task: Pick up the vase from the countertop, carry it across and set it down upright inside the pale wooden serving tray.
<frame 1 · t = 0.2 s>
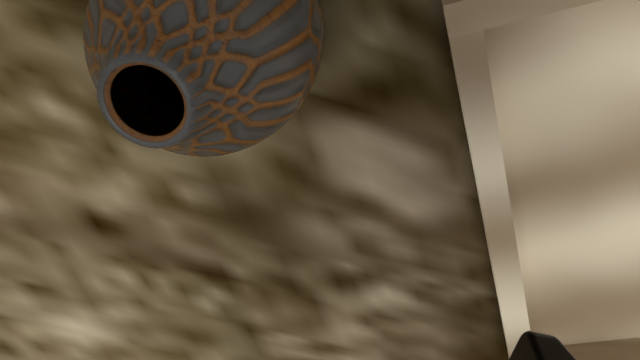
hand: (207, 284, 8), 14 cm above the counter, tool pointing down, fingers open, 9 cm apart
vase: (241, 7, 21), on the counter
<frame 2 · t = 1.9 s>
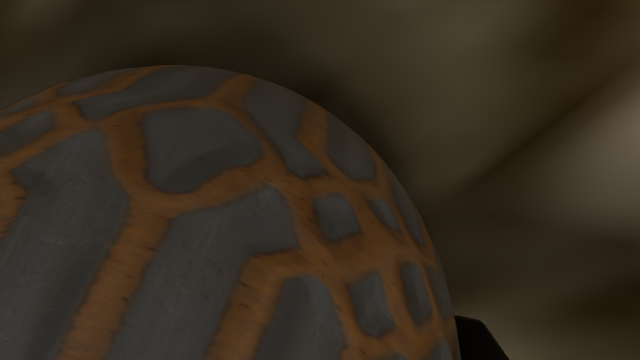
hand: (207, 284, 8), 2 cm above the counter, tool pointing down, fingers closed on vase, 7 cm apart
vase: (243, 199, 10), on the counter, touching gripper
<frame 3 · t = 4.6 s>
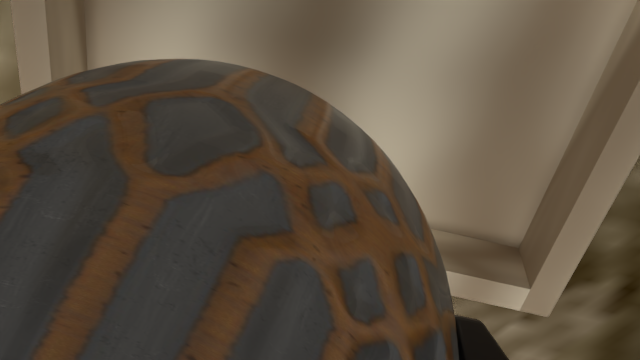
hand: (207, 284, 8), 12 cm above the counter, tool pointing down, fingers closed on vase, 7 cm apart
vase: (253, 196, 10), point 9 cm above the counter, touching gripper
tray: (344, 4, 17), on the counter
when the fingers open (4 cm above the counter, at t = 7.1 s): vase drops 1 cm, resting on tray.
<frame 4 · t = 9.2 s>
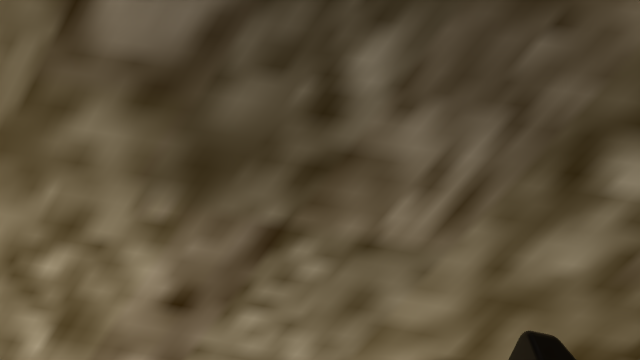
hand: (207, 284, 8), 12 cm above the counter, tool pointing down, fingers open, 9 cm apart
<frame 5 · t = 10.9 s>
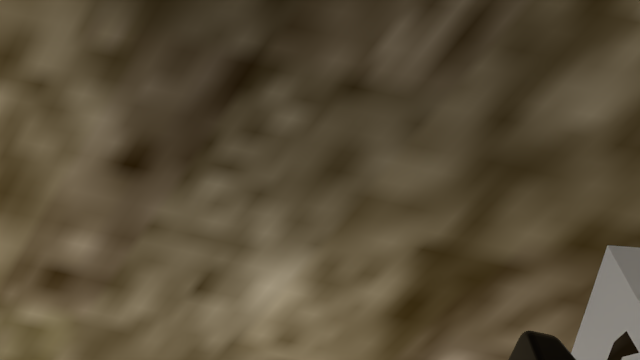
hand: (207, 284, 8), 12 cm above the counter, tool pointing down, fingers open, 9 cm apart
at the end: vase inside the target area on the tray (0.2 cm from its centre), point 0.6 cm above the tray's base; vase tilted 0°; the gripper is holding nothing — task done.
